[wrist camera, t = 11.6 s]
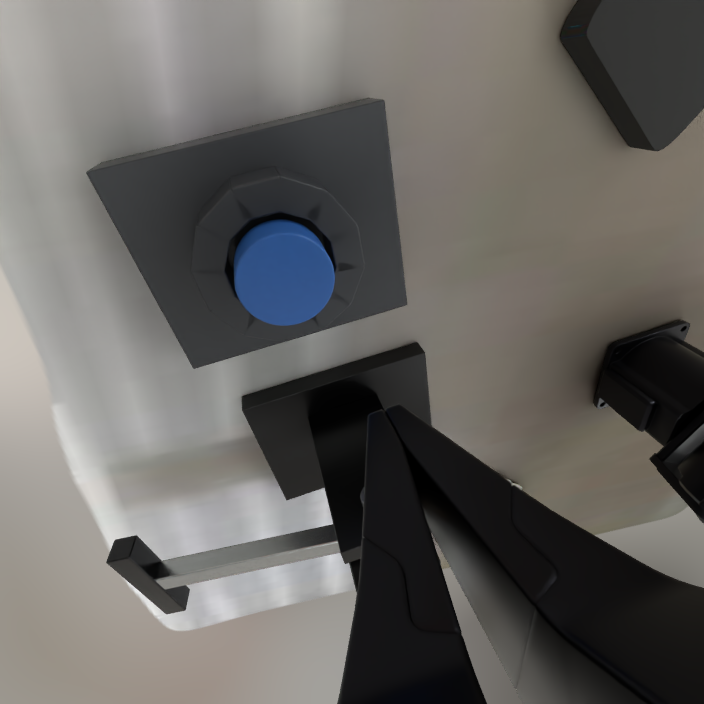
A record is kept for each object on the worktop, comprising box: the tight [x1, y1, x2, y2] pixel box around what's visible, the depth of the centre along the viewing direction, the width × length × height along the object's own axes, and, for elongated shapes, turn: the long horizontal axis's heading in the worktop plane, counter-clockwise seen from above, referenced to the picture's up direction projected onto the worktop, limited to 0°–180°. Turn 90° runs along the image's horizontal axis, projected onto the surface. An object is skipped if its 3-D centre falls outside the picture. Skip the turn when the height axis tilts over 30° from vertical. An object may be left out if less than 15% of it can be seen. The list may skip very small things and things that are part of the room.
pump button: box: [234, 219, 335, 326], centre depth 15 cm, size 4×4×2 cm
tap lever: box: [107, 524, 361, 614], centre depth 20 cm, size 14×6×2 cm, turn 101°
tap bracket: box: [242, 342, 441, 592], centre depth 22 cm, size 11×9×10 cm
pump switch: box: [87, 98, 407, 369], centre depth 17 cm, size 11×9×4 cm
